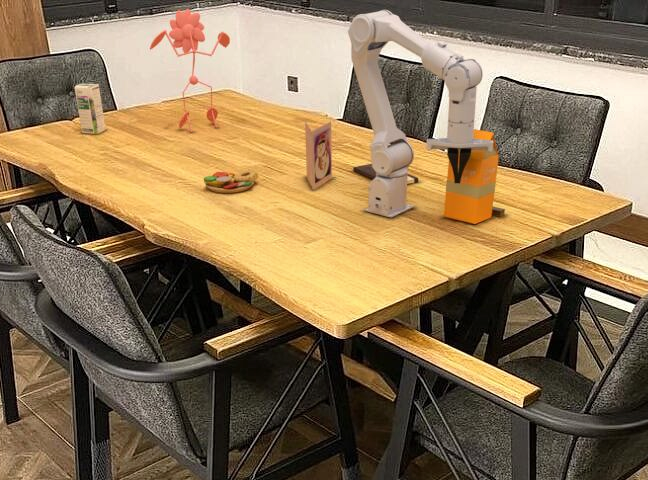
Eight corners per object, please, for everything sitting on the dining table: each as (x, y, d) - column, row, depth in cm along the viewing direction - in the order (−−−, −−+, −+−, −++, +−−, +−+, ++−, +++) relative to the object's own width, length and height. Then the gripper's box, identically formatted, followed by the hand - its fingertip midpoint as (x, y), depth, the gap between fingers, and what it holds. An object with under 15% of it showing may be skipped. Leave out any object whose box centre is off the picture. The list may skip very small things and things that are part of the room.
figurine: (240, 124, 276) (232, 8, 257) (169, 137, 264) (155, 15, 245) (219, 115, 287) (209, 3, 268) (149, 127, 274) (134, 10, 256)
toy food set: (263, 181, 224) (262, 169, 222) (245, 196, 213) (244, 184, 212) (217, 177, 227) (215, 165, 226) (197, 192, 217) (196, 180, 215)
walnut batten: (500, 217, 198) (500, 211, 197) (457, 207, 205) (457, 201, 204) (504, 215, 199) (505, 209, 199) (461, 204, 206) (462, 199, 205)
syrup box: (81, 133, 269) (73, 86, 261) (91, 129, 274) (83, 82, 266) (97, 134, 268) (89, 87, 260) (106, 130, 272) (99, 83, 264)
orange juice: (460, 209, 203) (469, 124, 193) (491, 217, 198) (502, 130, 188) (442, 216, 198) (451, 129, 188) (474, 224, 193) (485, 135, 183)
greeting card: (316, 190, 217) (314, 131, 209) (291, 187, 219) (288, 128, 211) (334, 178, 225) (334, 121, 217) (310, 175, 228) (308, 118, 220)
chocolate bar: (380, 161, 234) (418, 178, 221) (380, 165, 235) (418, 181, 222) (353, 167, 230) (390, 183, 217) (353, 170, 231) (390, 187, 218)
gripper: (494, 116, 184) (489, 177, 191) (428, 115, 186) (426, 175, 193) (494, 124, 178) (489, 187, 185) (427, 123, 180) (424, 185, 187)
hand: (457, 182), depth 189 cm, fingers closed
